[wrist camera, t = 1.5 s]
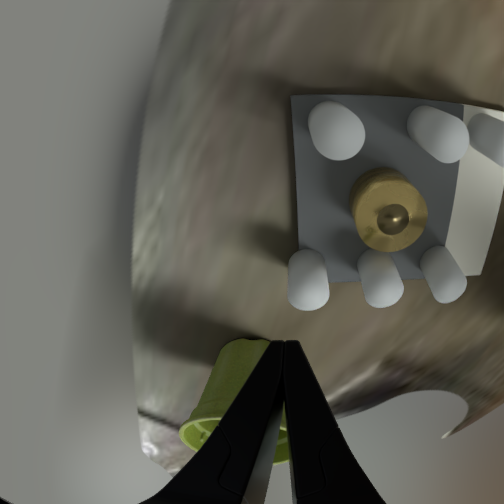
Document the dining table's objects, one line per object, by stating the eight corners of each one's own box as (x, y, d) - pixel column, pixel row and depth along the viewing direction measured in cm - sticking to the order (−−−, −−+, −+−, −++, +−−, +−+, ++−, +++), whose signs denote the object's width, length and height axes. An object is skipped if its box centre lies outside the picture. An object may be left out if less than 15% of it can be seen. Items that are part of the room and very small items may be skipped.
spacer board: (507, 112, 14) (541, 126, 11) (477, 270, 20) (496, 301, 17) (277, 95, 16) (274, 103, 13) (289, 278, 22) (288, 314, 19)
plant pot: (247, 303, 24) (229, 404, 17) (329, 358, 27) (333, 448, 19) (182, 353, 28) (157, 435, 21) (259, 396, 31) (249, 471, 24)
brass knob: (415, 167, 16) (432, 184, 14) (408, 228, 18) (421, 251, 16) (349, 166, 17) (358, 183, 15) (347, 229, 19) (354, 253, 17)
